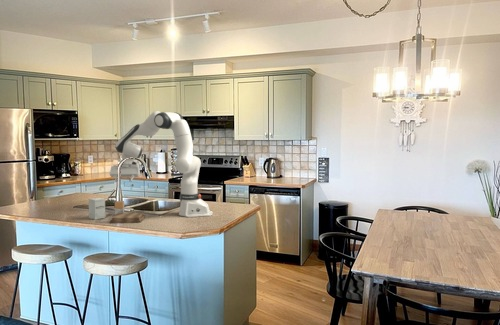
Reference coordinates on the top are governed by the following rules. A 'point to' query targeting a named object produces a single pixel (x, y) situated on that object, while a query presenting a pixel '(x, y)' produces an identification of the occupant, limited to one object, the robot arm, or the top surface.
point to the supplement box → (96, 208)
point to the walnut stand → (128, 218)
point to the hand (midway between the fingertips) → (123, 181)
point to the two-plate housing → (119, 207)
